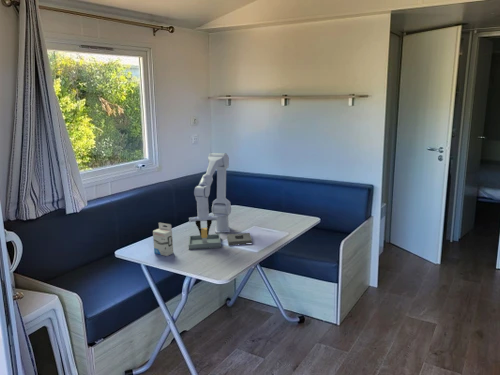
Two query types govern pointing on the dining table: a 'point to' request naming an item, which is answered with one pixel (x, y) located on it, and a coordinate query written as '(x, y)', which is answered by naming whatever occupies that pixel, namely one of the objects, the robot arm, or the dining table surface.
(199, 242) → the parts tray
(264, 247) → the dining table surface
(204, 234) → the block
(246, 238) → the fuse holder
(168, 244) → the ink box
